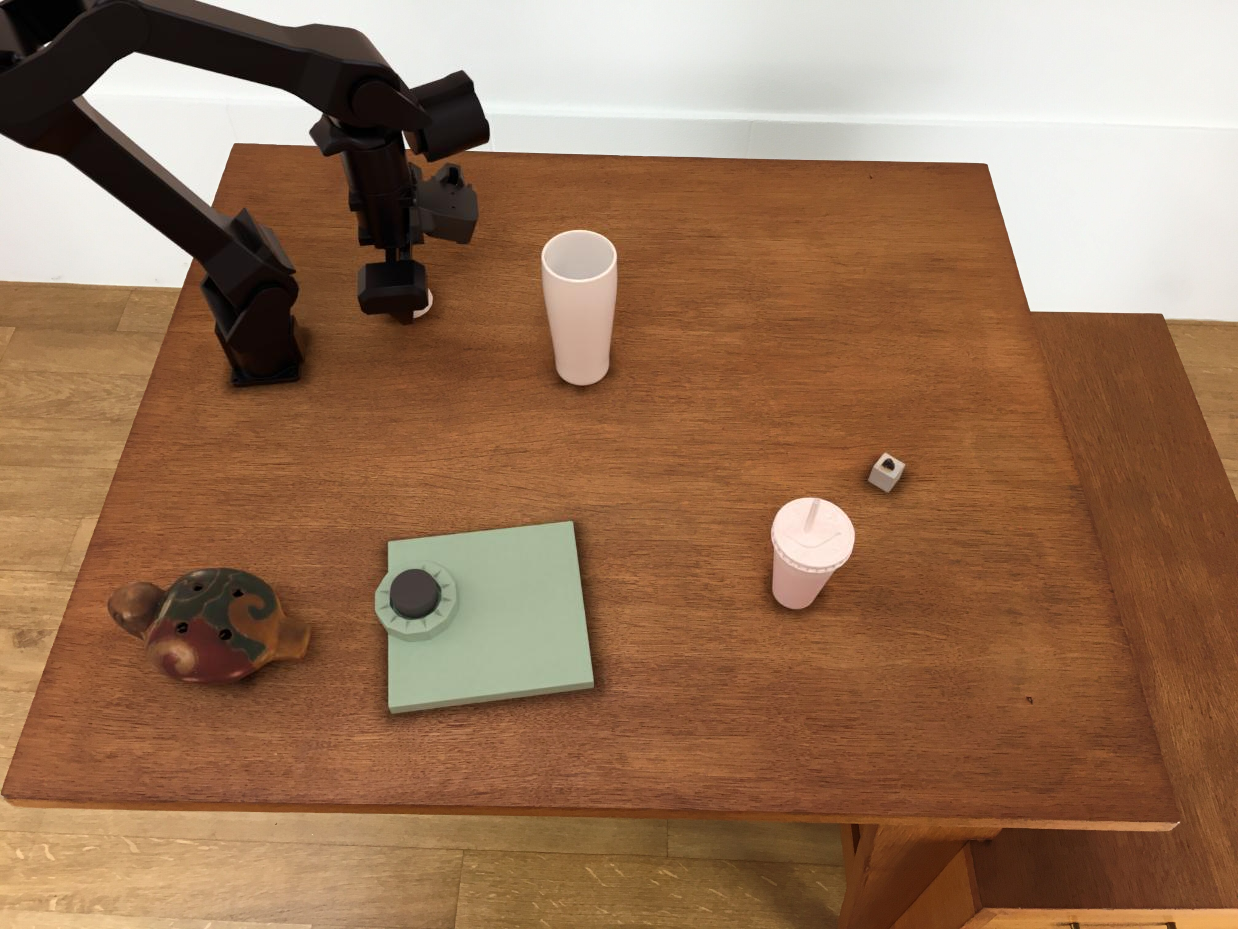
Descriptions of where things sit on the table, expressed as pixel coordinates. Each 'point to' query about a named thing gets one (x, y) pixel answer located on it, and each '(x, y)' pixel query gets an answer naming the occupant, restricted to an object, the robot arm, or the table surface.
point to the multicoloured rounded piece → (209, 625)
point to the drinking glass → (580, 302)
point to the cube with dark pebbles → (886, 472)
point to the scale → (488, 618)
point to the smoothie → (808, 549)
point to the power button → (414, 593)
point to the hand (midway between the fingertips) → (407, 297)
